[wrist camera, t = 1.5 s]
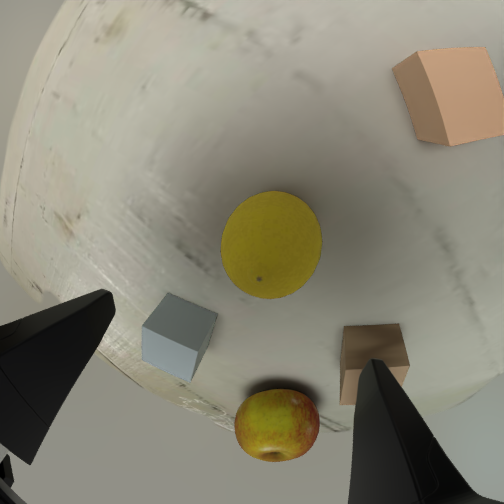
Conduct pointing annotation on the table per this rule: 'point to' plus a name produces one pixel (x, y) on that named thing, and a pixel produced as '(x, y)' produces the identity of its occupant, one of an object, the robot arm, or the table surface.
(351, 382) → the walnut block
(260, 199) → the lemon
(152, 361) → the slate block
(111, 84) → the table surface
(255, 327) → the table surface
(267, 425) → the fruit
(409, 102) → the terracotta block
